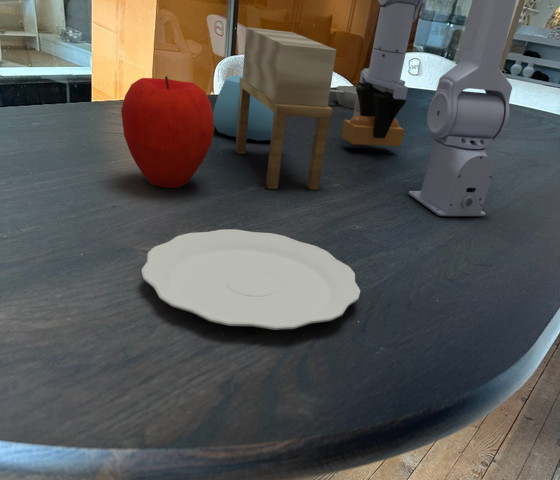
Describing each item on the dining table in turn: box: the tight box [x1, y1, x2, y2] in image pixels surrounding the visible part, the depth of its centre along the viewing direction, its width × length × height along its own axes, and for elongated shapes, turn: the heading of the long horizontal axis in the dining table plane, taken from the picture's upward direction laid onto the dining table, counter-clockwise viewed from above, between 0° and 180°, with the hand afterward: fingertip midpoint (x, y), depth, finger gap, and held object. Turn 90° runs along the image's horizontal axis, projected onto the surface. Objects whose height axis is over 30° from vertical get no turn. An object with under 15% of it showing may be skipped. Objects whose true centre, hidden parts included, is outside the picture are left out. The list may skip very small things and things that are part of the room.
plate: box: [141, 228, 361, 331], centre depth 58 cm, size 21×21×2 cm
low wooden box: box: [340, 116, 406, 147], centre depth 108 cm, size 5×10×4 cm, turn 108°
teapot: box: [213, 75, 274, 142], centre depth 107 cm, size 13×11×18 cm
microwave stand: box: [235, 26, 337, 190], centre depth 88 cm, size 19×8×18 cm, turn 18°
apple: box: [120, 75, 215, 189], centre depth 77 cm, size 12×12×13 cm
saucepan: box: [330, 85, 357, 109], centre depth 144 cm, size 11×18×4 cm, turn 130°
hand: (372, 133), depth 108 cm, fingers closed on low wooden box, 5 cm apart
